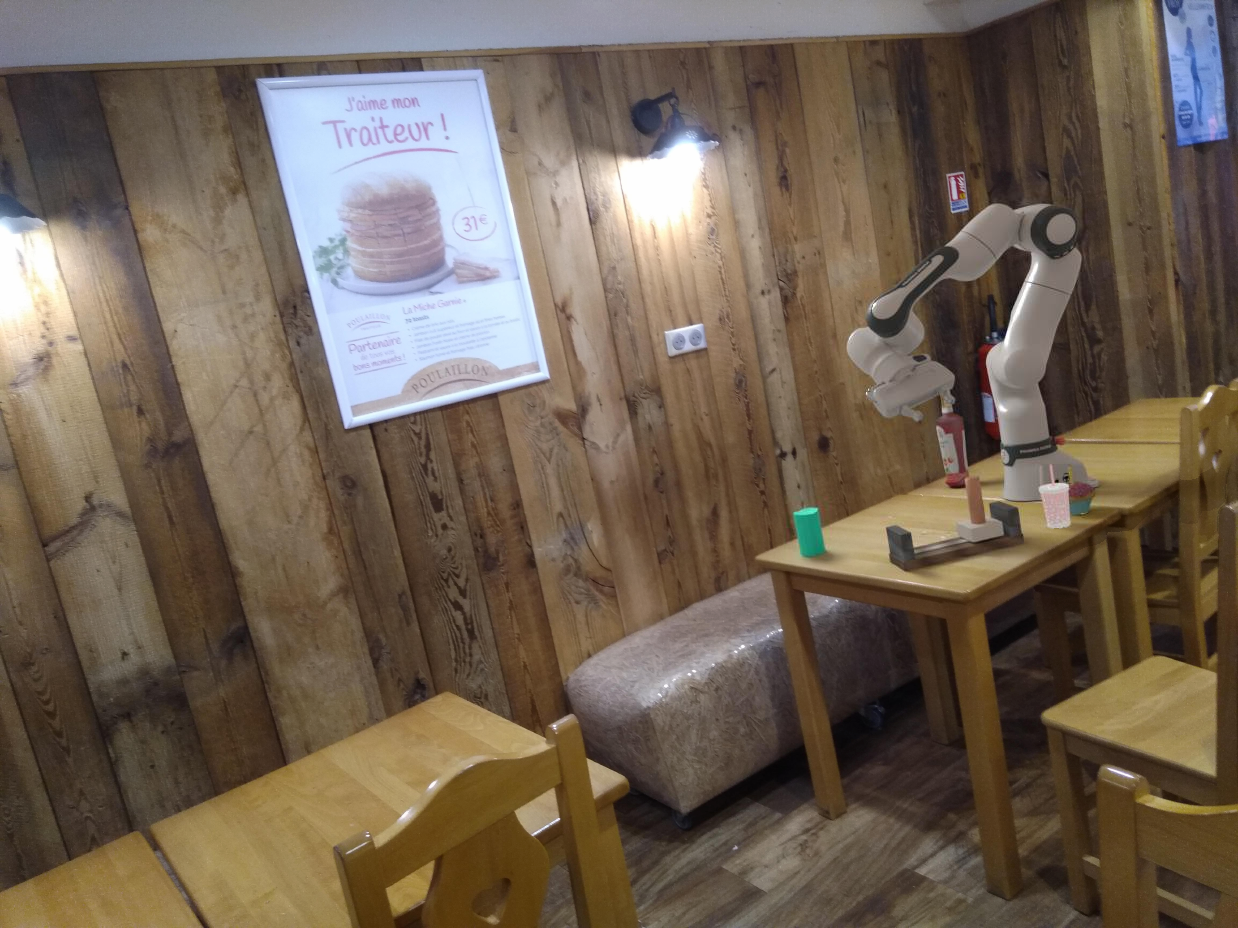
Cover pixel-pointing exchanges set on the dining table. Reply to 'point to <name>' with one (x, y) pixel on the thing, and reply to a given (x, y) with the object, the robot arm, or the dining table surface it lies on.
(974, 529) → the peach cylinder post
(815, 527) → the candle
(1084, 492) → the cupcake
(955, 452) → the liquor
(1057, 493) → the beverage cup
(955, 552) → the rail
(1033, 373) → the robot arm
